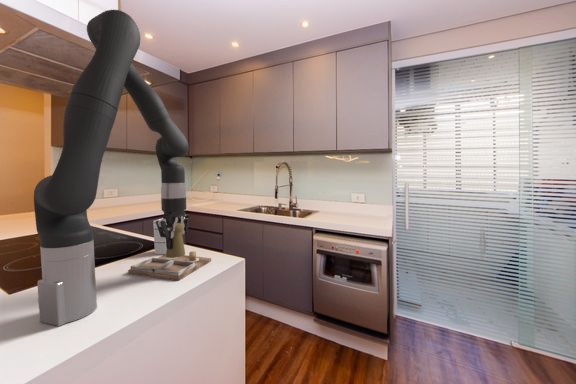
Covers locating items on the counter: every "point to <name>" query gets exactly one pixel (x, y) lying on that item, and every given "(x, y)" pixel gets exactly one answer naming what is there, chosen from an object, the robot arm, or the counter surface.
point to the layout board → (169, 266)
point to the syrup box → (159, 240)
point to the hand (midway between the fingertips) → (175, 246)
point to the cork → (176, 243)
